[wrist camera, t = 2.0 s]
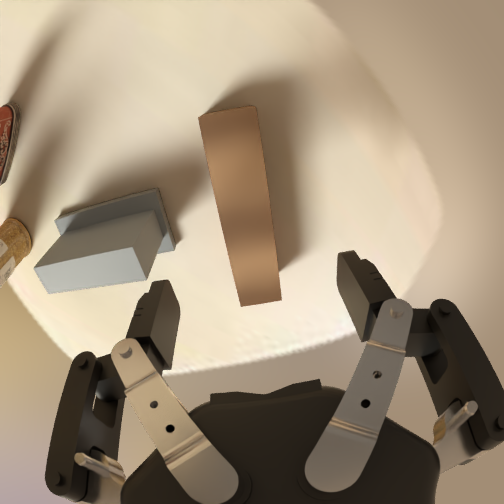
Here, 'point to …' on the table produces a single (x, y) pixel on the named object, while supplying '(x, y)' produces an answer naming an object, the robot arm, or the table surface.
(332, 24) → the table surface
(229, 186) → the walnut bar
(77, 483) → the robot arm
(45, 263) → the fulcrum
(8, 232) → the sprinkles bottle
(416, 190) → the table surface
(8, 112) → the lighter
